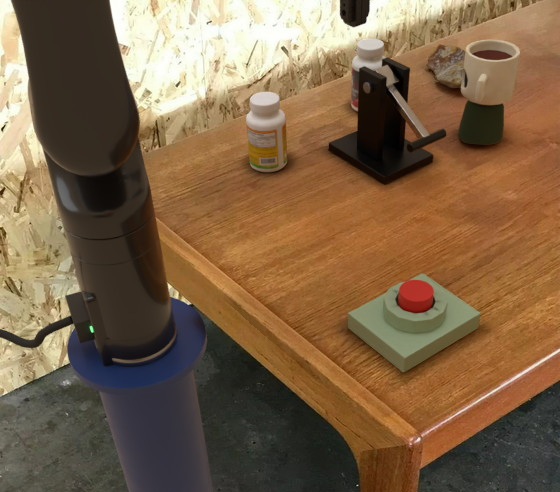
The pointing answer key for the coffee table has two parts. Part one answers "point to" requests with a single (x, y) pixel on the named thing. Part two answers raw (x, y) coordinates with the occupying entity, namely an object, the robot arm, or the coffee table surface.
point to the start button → (415, 296)
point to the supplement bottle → (266, 133)
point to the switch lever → (408, 113)
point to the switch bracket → (380, 129)
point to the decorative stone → (447, 65)
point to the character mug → (487, 89)
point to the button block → (412, 325)
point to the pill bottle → (365, 63)
